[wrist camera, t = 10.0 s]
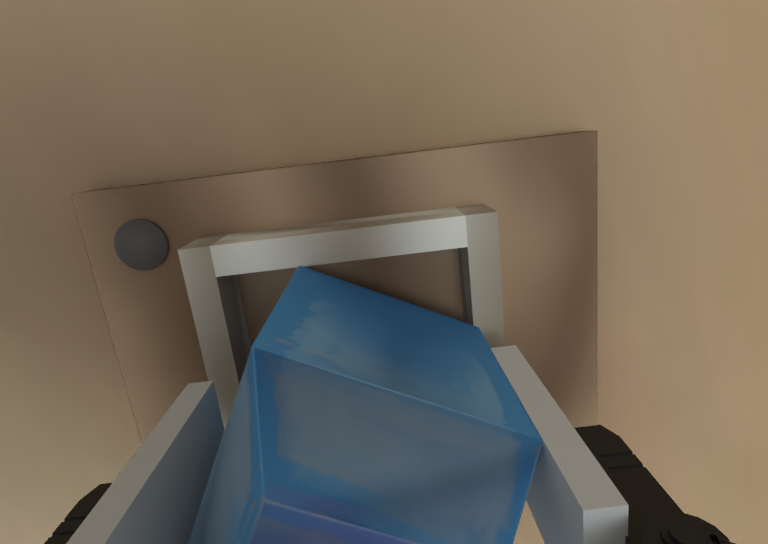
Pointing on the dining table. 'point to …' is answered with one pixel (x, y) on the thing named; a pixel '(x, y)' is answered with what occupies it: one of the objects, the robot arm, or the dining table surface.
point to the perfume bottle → (368, 429)
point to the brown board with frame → (353, 258)
